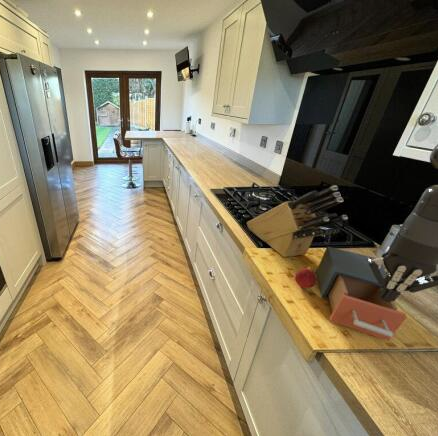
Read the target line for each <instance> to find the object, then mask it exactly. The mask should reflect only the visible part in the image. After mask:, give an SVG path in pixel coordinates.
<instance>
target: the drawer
mask: <svg viewBox="0 0 438 436" xmlns="http://www.w3.org/2000/svg"><path fill="white" fill-rule="evenodd" d="M380 288H381V286H378V285H374V284H370V283H367V282H363V281H360V280H356V279H352V278H349V277H345V276H342V275H338V274H337V276H336V278H335V280H334V282H333V284H332V286H331V288H330V290H329V292H328V296H329V300H328V301H329V304H330V308H331V312H332V313H331V315H330V317H329V320H330V322H333V323H336V324H339V325H342V326H344V327H348V328H350V329H353V330H356V331H359V332H361V333H364V334H368V335H371V336H372V337H373V336H374V337H376V338H379V339H382V340H384V341H387V342H389V341H390V340H391V339H392V337H393V336H394V334H395V333H396V332H397V331H398V329H399V328H400V326H402V324H403V322H404V321H405V320H407V319H406V318H407V317H408V316H407V314H406V313H405V312H403V311H400V310H398V307H397V304H396V303H395V301H391V303H389V302H385V301H382V300H381V298H380V297H379V295H378V291H379V289H380Z"/></svg>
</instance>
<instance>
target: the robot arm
mask: <svg viewBox="0 0 438 436" xmlns="http://www.w3.org/2000/svg"><path fill="white" fill-rule="evenodd" d="M429 162H430V165H431V166H432V168H434V169H436V170H438V143H437V144H436V145H435V146H434V147H433V149H432V151H431V152H430V155H429ZM388 247H389V250H388V251H387V252H386V253H385V252H384V253H383V254H381V256H380V257H373V258H375V259H373V258H371V257H372V256H369V258H367V262H368V264H369V266H370V268H371V270H372V272H373V274H374V276H375V278H376V279H377V281H378V283H379V284H382V286H381V288H380V289H379V291H378V295H379V297H380V298H381V300H382V301H385V302H389V303H391V301H394V302H395V301H396V300H397V299H398V297H399V296H400V295H401V293H402V292H409V293H413V294H414V293H417V292H421V291H425V290H427V289H431V288H435V287H437V286H438V272H437V270H438V268H437V266H438V184H434V185H430V186H428V187H427V188H426V189H425V190H424V191H423V192H422V194H421V196H420V197H419V199H418V201H417V203H416V204H415V206H414V207H413V209H412V211H411V213H410V214H409V215H408V216H407V217H406V219H405V220H404V221H403V224H401V226H400V229H399V230H398V232H397V234H396V235H395V237H394V239H393V240H392V242H391V244H390V245H389V246H388ZM382 263H384V265H385V267H386V269H387V271H386V276H385V277H383V276H382V274H381V272H380V270H379V269H380V268H381V267H382ZM378 268H379V269H378Z"/></svg>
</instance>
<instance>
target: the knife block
mask: <svg viewBox="0 0 438 436" xmlns="http://www.w3.org/2000/svg"><path fill="white" fill-rule="evenodd" d="M338 190H339V186H338V185H331V186H329V187H328V188H324V189H323V190H321V191H318V190H312V191H310V192H306V193H305V194H303V195H302V196H299V197H298V198H297V199H295V200H287V201H285V202H282V203H280V204H279V205H277V206H275V207H273V208H271V209H269V210H268V211H265V212H264V213H262V214H260V215H258V216H256V217H254V218H252V219H251V220H248V221H247V222H246V224H247V228H248V230H249V231H250V232H252V233H253V234H254V235H255V236H257V237H258V238H259V239H260V240H262V241H263V242H264V243H266V244H267V245H268V246H270V247H271V249H273V250H275V251H276V252H277V253H278V254H279V255H280V256H282V257H284V258H288V257H294V256H302V255H307V253H308V251H309V249H310V247H311V245H312V242H313V239H314V237H320V236H326V235H330V234H332V235H333V234H338V233H340V231H341V230H340V229H339V228H333V227H332V228H323V229H321V228H322V227H326V226H330V225H334V224H337V223H340V222H344V221H346V220H348V219H349V217H348V215H347V214H342V215H339V216H338V214H337V213H336V212H332V213H324V214H320V215H318V216H317V213H320V212H323V211H325V210H328V209H331V208H333V207H335V206H338V205H340V204H342V203H343V202H344V198H343V197H342V196H341V192H340V191H338Z"/></svg>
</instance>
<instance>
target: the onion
mask: <svg viewBox="0 0 438 436" xmlns="http://www.w3.org/2000/svg"><path fill="white" fill-rule="evenodd" d="M294 280H295V282H296V284H297V285H298V286H299V287H300V288H304V289H310V288H313V287H314V286H315V284H316V283H317V276H316V273H315V272H314V271H313V270H312V268H311V267H310V266H308V267H307V268H301V269H299V270H297V272H295V275H294Z"/></svg>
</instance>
